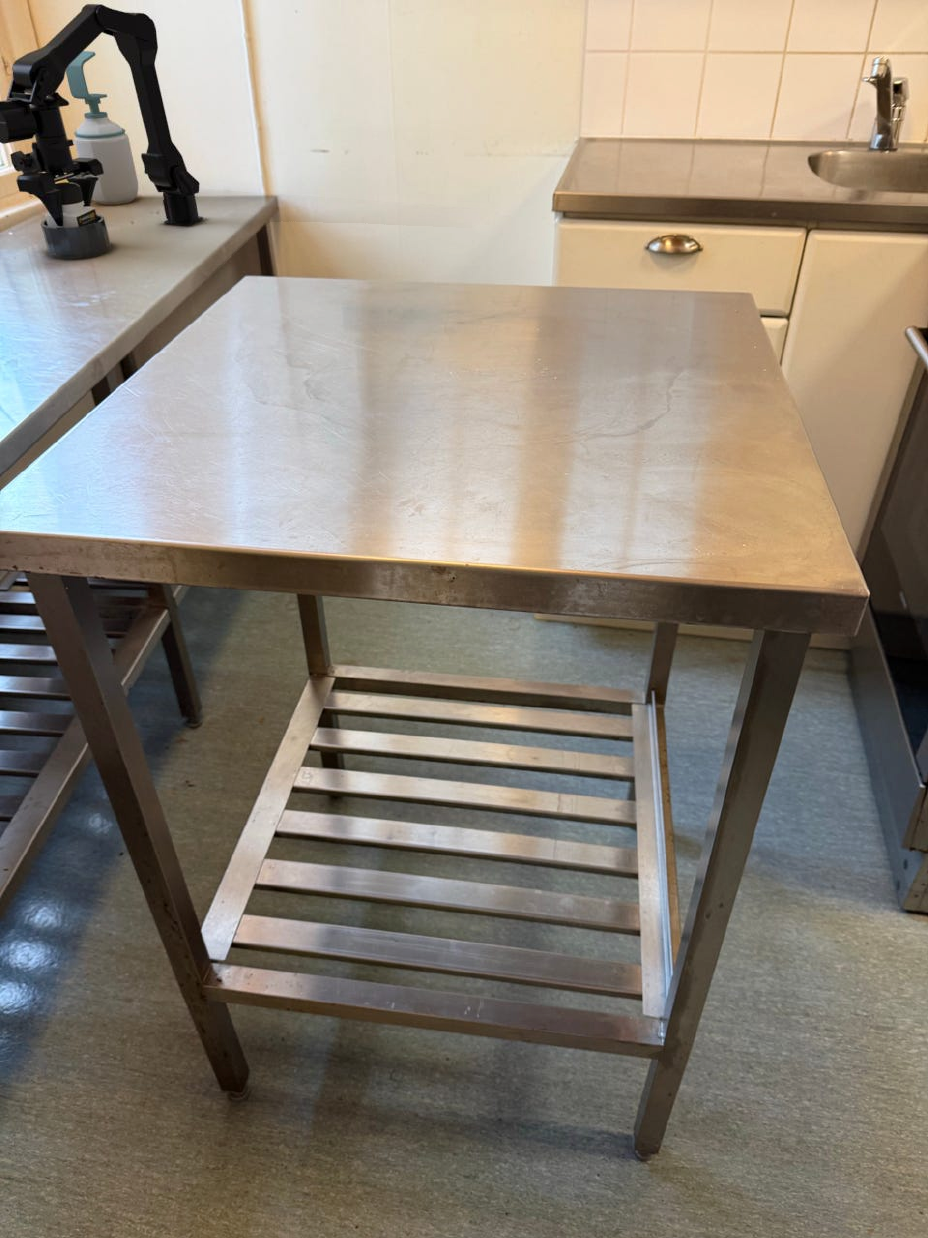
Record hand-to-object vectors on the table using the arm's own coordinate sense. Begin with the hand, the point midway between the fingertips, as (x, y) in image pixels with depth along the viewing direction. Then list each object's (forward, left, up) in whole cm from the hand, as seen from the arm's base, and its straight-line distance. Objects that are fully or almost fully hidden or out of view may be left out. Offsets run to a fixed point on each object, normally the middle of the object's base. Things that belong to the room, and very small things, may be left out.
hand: (73, 221), depth 182 cm
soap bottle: (+22, -40, -6) cm, 46 cm away
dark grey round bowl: (0, 0, -6) cm, 6 cm away
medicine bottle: (0, 0, -5) cm, 5 cm away
